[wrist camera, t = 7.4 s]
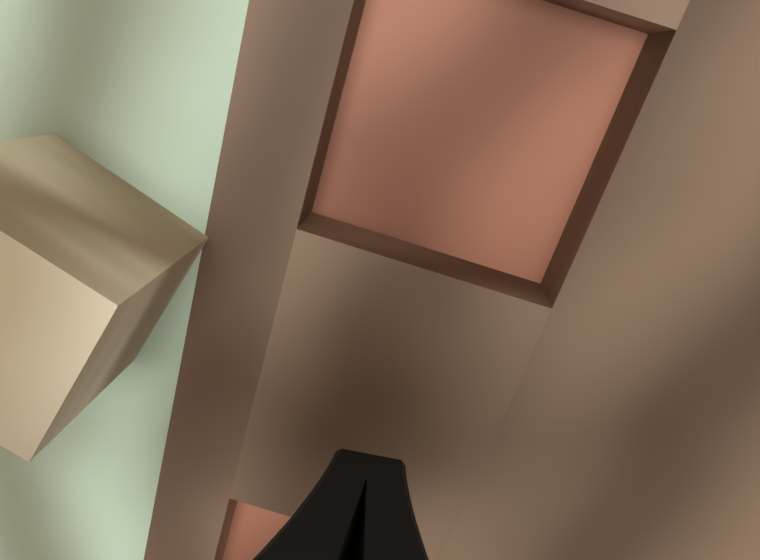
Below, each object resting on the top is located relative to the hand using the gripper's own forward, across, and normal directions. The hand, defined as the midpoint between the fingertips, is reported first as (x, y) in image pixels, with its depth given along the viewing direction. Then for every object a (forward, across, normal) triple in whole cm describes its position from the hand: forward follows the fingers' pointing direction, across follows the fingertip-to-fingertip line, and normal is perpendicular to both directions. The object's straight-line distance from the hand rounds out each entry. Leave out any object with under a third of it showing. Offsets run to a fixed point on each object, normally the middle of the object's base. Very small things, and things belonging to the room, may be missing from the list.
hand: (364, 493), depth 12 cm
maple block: (+3, +7, -3) cm, 8 cm away
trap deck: (+5, 0, 0) cm, 5 cm away
